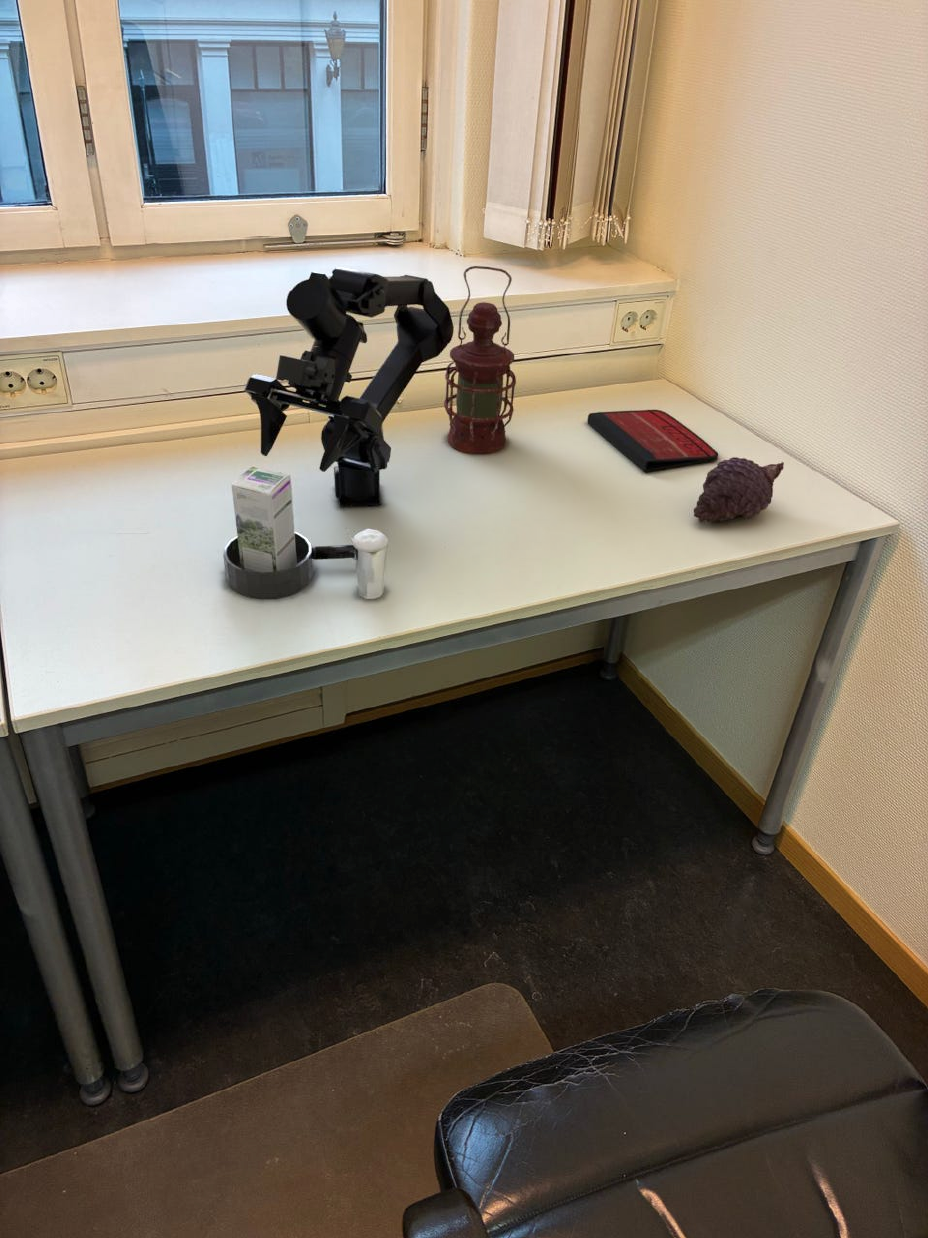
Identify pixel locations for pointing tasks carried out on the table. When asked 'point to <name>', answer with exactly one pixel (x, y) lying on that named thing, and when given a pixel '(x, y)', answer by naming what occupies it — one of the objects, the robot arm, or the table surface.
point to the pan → (269, 573)
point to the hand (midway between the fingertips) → (292, 462)
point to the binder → (652, 438)
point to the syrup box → (264, 520)
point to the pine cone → (736, 490)
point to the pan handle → (332, 552)
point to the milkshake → (370, 562)
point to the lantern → (480, 381)
